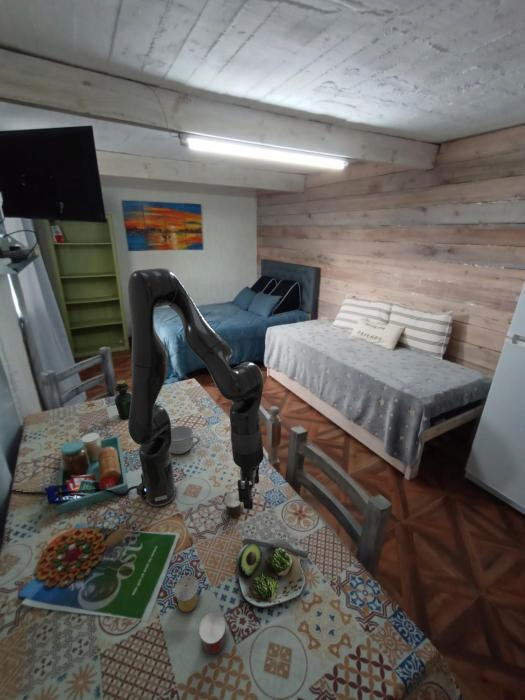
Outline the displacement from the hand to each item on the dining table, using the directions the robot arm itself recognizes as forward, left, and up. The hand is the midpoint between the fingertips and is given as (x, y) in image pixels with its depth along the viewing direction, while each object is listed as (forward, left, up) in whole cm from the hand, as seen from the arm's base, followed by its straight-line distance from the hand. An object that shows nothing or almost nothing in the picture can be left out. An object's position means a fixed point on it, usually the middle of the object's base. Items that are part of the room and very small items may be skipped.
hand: (251, 494), depth 82 cm
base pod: (-11, +8, -19) cm, 23 cm away
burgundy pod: (+2, -23, -19) cm, 30 cm away
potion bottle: (-84, +33, -19) cm, 92 cm away
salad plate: (+7, -5, -19) cm, 21 cm away
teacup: (-44, +25, -19) cm, 54 cm away
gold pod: (-8, -19, -19) cm, 28 cm away
